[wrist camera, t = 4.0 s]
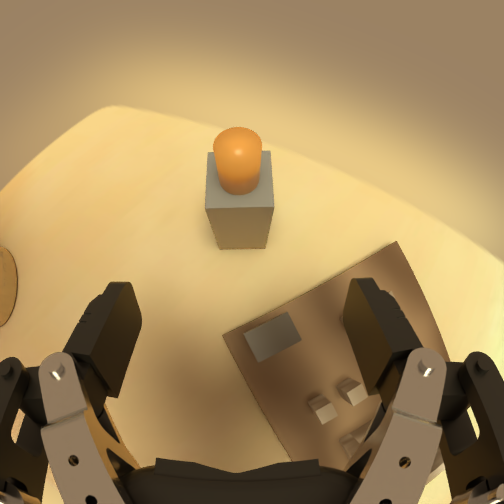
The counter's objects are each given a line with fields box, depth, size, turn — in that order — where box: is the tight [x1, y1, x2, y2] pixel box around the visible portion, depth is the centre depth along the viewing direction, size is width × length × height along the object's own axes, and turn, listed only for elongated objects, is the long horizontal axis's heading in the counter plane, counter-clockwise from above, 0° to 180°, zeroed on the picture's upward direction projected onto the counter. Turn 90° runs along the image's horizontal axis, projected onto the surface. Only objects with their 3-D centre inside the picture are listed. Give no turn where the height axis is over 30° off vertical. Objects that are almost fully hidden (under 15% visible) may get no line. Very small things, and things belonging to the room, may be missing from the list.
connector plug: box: [205, 127, 274, 249], centre depth 17 cm, size 4×4×11 cm
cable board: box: [222, 241, 450, 485], centre depth 17 cm, size 16×22×5 cm
